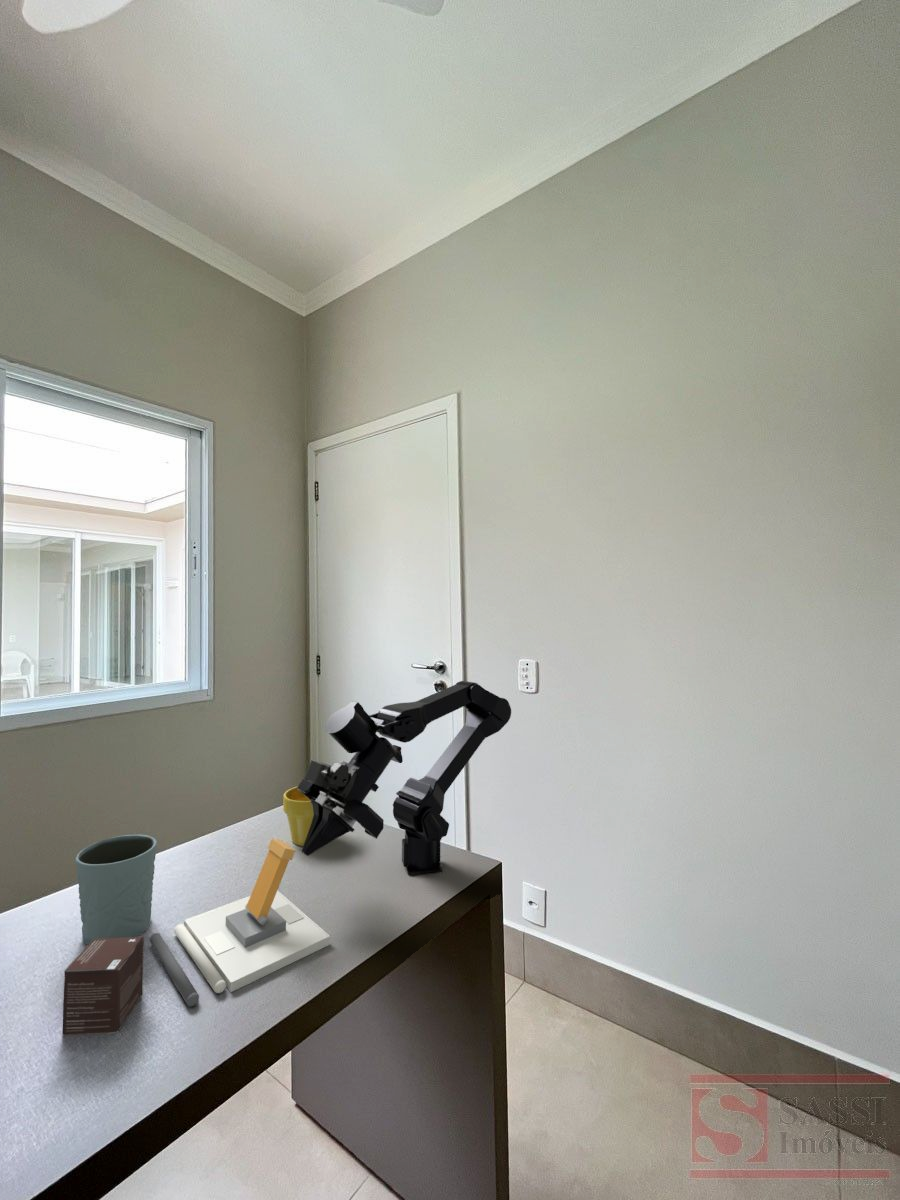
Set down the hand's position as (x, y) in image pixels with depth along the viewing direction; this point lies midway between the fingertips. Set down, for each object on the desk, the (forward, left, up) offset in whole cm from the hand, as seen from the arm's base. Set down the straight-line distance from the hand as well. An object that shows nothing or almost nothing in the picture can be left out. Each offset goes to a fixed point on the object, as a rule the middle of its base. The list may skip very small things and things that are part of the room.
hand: (304, 853), depth 83 cm
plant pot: (0, -28, -10) cm, 30 cm away
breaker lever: (+7, +4, -6) cm, 10 cm away
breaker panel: (+7, +4, -10) cm, 12 cm away
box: (+22, +16, -10) cm, 29 cm away
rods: (+15, +9, -10) cm, 20 cm away
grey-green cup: (+27, -2, -10) cm, 29 cm away
